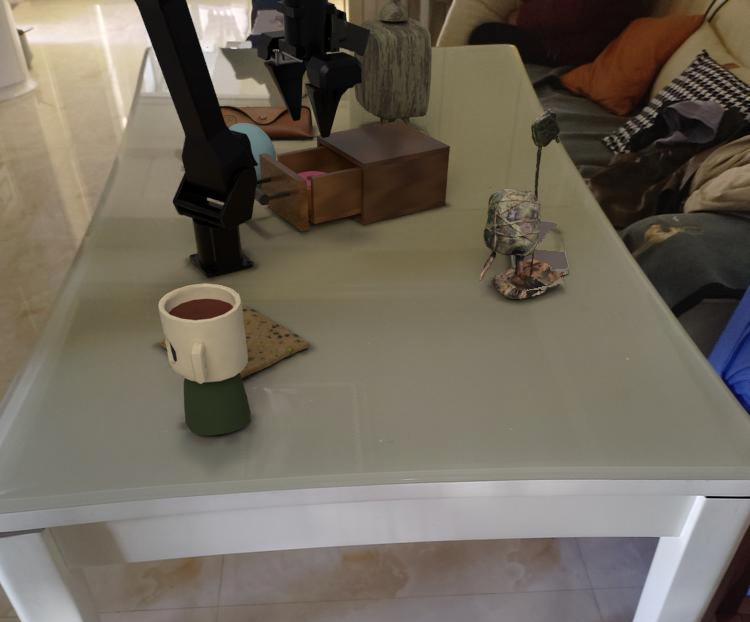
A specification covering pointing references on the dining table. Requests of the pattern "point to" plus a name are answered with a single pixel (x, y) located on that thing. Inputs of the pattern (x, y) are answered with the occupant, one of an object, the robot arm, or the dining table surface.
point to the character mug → (208, 355)
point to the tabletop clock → (395, 66)
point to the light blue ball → (256, 142)
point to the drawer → (328, 191)
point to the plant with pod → (520, 226)
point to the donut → (309, 184)
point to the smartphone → (543, 256)
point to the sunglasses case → (271, 121)
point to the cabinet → (394, 169)
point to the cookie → (265, 342)
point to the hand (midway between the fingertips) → (310, 128)
